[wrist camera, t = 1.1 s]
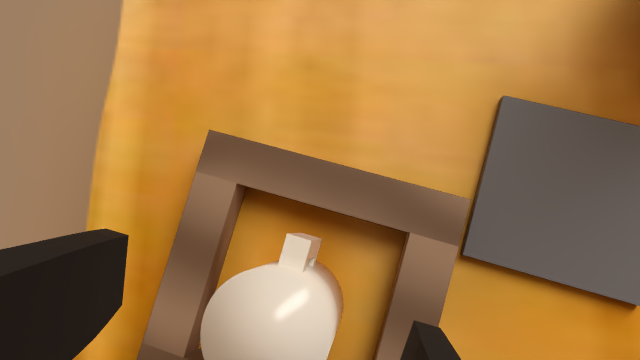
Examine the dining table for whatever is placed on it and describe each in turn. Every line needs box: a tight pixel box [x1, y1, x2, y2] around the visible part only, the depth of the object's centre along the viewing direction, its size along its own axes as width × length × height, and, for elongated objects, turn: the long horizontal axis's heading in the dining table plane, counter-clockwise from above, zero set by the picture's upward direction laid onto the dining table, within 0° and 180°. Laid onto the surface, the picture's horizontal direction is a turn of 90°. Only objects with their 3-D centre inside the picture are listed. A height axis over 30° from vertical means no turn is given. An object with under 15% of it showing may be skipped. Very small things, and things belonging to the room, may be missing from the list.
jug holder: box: [137, 130, 471, 360], centre depth 20 cm, size 13×13×2 cm
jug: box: [200, 233, 343, 360], centre depth 17 cm, size 6×5×6 cm
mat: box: [461, 96, 640, 306], centre depth 19 cm, size 8×8×1 cm
